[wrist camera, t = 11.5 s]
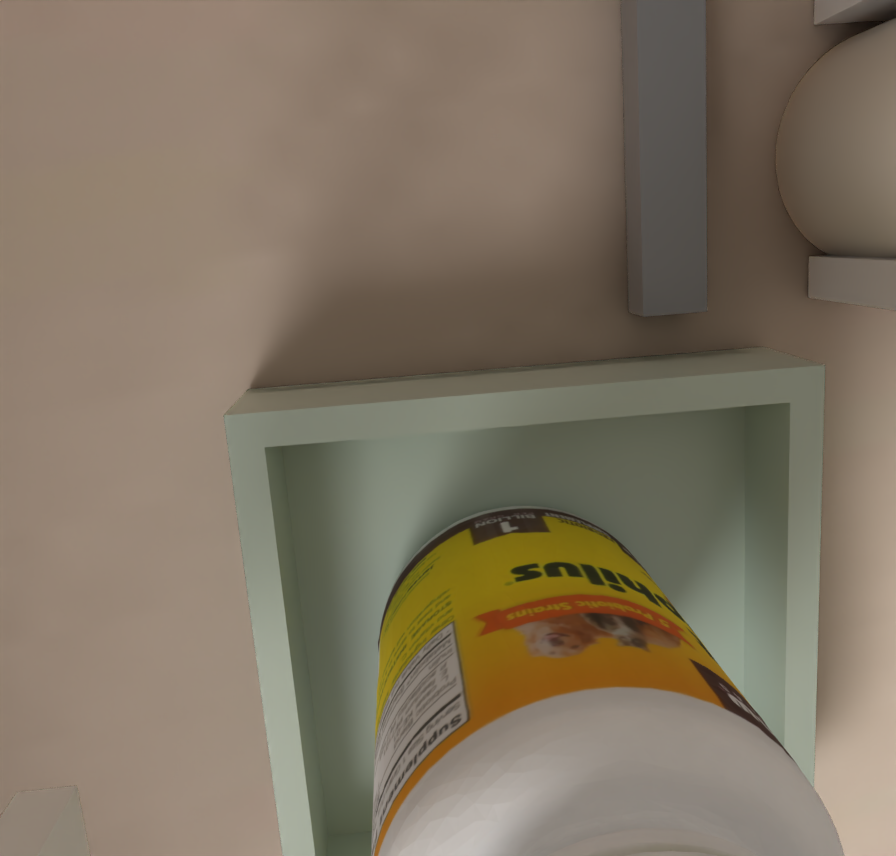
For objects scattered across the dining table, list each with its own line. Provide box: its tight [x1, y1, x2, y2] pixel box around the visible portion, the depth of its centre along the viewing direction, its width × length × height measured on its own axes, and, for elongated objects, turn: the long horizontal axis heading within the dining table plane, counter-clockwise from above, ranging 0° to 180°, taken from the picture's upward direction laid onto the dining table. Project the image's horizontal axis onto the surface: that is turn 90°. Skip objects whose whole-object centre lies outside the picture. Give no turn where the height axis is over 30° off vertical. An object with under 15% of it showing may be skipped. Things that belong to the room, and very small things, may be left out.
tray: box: [224, 347, 825, 856], centre depth 17 cm, size 10×10×2 cm
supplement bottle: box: [371, 506, 844, 856], centre depth 12 cm, size 6×6×10 cm
